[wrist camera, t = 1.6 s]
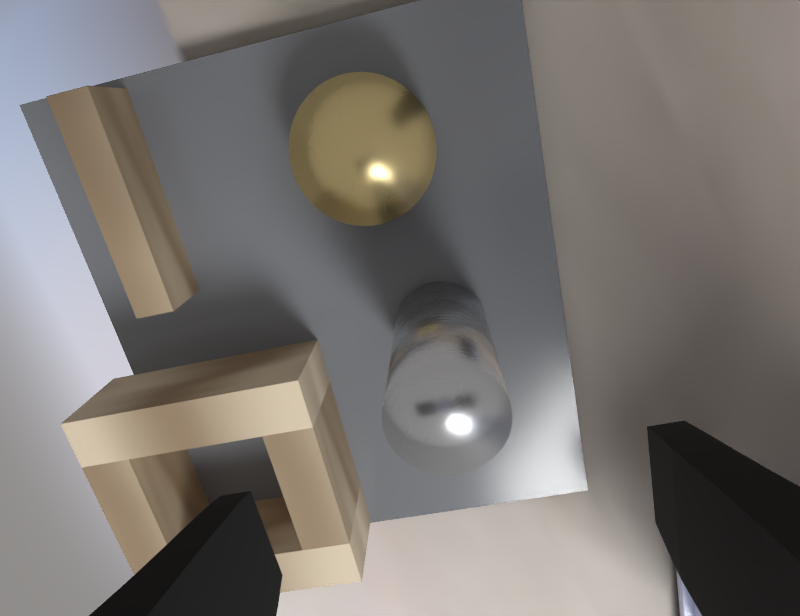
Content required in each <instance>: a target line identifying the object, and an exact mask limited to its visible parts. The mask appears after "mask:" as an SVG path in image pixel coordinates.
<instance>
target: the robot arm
mask: <svg viewBox="0 0 800 616" xmlns="http://www.w3.org/2000/svg"><path fill="white" fill-rule="evenodd" d="M647 431H648V442H649V454H650V465H651V476H652V487H653V499H654V510H655V521H656V524H657V527H658V529H659V531H660V534H661V536H662V538H663V541H664V543H665V545H666V547H667V550H668V552H669V554H670V556H671V559H672V561H673V563H674V565H675V567H676V570H677V583H678V596H679V609H680V616H800V487H799V486H797V485H796V484H794V483H792V482H790V481H788V480H787V479H785V478H783V477H781V476H779V475H778V474H776V473H774V472H772V471H770V470H769V469H767V468H765V467H763V466H762V465H760V464H758V463H756V462H755V461H753V460H751V459H749V458H748V457H746V456H744V455H743V454H741V453H739V452H737V451H736V450H734V449H732V448H731V447H729V446H727V445H725V444H724V443H722V442H720V441H719V440H717V439H715V438H714V437H712V436H710V435H709V434H707V433H705V432H703V431H702V430H700V429H698V428H696V427H695V426H693V425H691V424H689V423H687V422H686V421H679V422H673V423H667V424H661V425H655V426H649V427H647ZM282 576H283V575H282V572H281V570H280V567H279V564H278V562H277V559H276V556H275V554H274V551H273V549H272V546H271V543H270V541H269V538H268V535H267V533H266V530H265V527H264V525H263V522H262V519H261V517H260V514H259V511H258V509H257V506H256V503H255V501H254V498H253V496H252V493H251V491H247V492H241V493H235V494H228V495H222V496H220V497H218V498H217V499H216V500H215V501H213V502H212V503H211V504H210V505H209V506H207V507H206V508H205V509H204V510H203V511H202V512H201V513H200V514H199V515H197V516H196V517H195V518H194V519H193V520H192V521H191V522H190V523H189V524H188V525H187V526H186V527H185V528H184V529H183V530H181V531H180V532H179V533H178V534H177V535H176V536H175V537H174V538H173V539H172V540H171V541H170V542H169V543H168V544H167V545H166V546H165V547H164V548H163V549H161V550H160V551H159V552H158V553H157V554H156V555H155V556H154V557H153V558H152V559H151V560H150V561H149V562H148V563H147V564H146V565H145V566H143V567H142V568H141V569H140V570H139V571H138V572H137V573H136V574H135V575H134V576H133V577H132V578H131V579H130V580H129V581H128V582H127V583H126V584H124V585H123V586H122V587H121V588H120V589H119V590H118V591H117V592H115V593H114V594H113V595H112V596H111V597H110V598H109V599H107V600H106V601H105V602H104V603H103V604H102V605H101V606H100V607H98V608H97V609H96V610H95V611H94V612H93V613H92V614H90V615H89V616H276V613H277V608H278V602H279V595H280V589H281V582H282Z"/></svg>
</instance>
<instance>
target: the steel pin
mask: <svg viewBox="0 0 800 616" xmlns="http://www.w3.org/2000/svg"><path fill="white" fill-rule="evenodd" d="M382 427H383V431H384V434H385V437H386V439H387V441H388V443H389V445H390V446H391V448H392V449H393V451H394V452H395V453H396V454H397V455H398V456H399V457H400V458H401V459H403V460H404V461H405V462H407V463H408V464H410V465H411V466H413V467H415V468H417V469H420V470H423V471H426V472H429V473H434V474H442V475H452V474H460V473H465V472H468V471H471V470H474V469H476V468H479V467H481V466H483V465H484V464H486V463H487V462H489V461H490V460H491V459H493V458H494V457H495V456H496V455H497V454H498V453H499V452H500V451H501V449H502V448H503V446H504V445H505V443H506V441H507V439H508V437H509V434H510V432H511V427H512V408H511V404H510V400H509V397H508V393H507V390H506V386H505V383H504V379H503V375H502V372H501V368H500V365H499V361H498V358H497V354H496V351H495V347H494V344H493V340H492V336H491V333H490V329H489V326H488V322H487V319H486V315H485V312H484V309H483V306H482V304H481V303H480V301H479V300H478V298H477V297H476V296H475V295H474V294H473V293H472V292H471V291H469V290H468V289H466V288H465V287H463V286H461V285H458V284H456V283H451V282H445V281H438V282H431V283H427V284H424V285H422V286H420V287H418V288H416V289H415V290H413V291H412V292H411V293H410V294H409V295H408V296H406V298H405V299H404V300H403V302H402V303H401V305H400V307H399V310H398V313H397V316H396V323H395V329H394V336H393V342H392V349H391V355H390V362H389V368H388V375H387V381H386V388H385V394H384V401H383V407H382Z"/></svg>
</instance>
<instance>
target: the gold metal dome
mask: <svg viewBox="0 0 800 616" xmlns="http://www.w3.org/2000/svg"><path fill="white" fill-rule="evenodd" d="M436 156H437V146H436V138H435V133H434V129H433V125H432V123H431V120H430V118H429V115H428V114H427V112H426V110H425V108H424V107H423V105H422V104H421V103H420V101H419V100H418V99H417V98H416V97H415V96H414V95H413V93H412V92H411V91H409V90H408V89H407V88H406V87H404V86H403V85H402V84H400V83H398V82H397V81H395V80H393V79H391V78H388V77H386V76H384V75H380V74H376V73H370V72H351V73H346V74H342V75H338V76H335V77H333V78H331V79H329V80H327V81H325V82H323V83H322V84H321V85H319V86H318V87H316V88H315V89H314V90H313V91H312V92H311V93H310V94H309V95H308V96H307V97H306V98H305V100H304V101H303V102H302V104H301V105H300V107H299V109H298V110H297V113H296V115H295V117H294V119H293V123H292V126H291V129H290V135H289V159H290V164H291V169H292V172H293V174H294V177H295V180H296V182H297V184H298V186H299V188H300V189H301V191H302V192H303V194H304V195H305V196H306V198H307V199H308V200H309V201H310V202H311V203H312V204H313V205H314V206H315V207H316V208H317V209H318V210H320V211H321V212H322V213H324V214H325V215H327V216H329V217H331V218H332V219H334V220H337V221H340V222H342V223H346V224H350V225H356V226H373V225H380V224H383V223H387V222H389V221H392V220H394V219H396V218H398V217H400V216H402V215H403V214H405V213H406V212H407V211H409V210H410V209H411V208H412V207H413V206H414V205H415V204H416V203H417V202H418V201H419V200H420V198H421V197H422V196H423V194H424V193H425V191H426V189H427V188H428V186H429V184H430V181H431V179H432V176H433V173H434V169H435V164H436Z"/></svg>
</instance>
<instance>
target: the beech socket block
mask: <svg viewBox="0 0 800 616" xmlns="http://www.w3.org/2000/svg"><path fill="white" fill-rule="evenodd" d="M61 426H62V428H63V430H64V432H65V434H66V436H67V438H68V440H69V442H70V444H71V446H72V448H73V450H74V453H75V454H76V457H77V459H78V461H79V463H80V465H81V467H82V469H83V471H84V473H85V475H86V477H87V479H88V481H89V483H90V485H91V487H92V489H93V491H94V493H95V496H96V498H97V500H98V502H99V504H100V506H101V508H102V510H103V512H104V514H105V516H106V518H107V520H108V522H109V524H110V526H111V528H112V530H113V532H114V534H115V536H116V539H117V540H118V543H119V544H120V547H121V549H122V551H123V553H124V554H125V557H126V559H127V561H128V563H129V565H130V567H131V569H132V571H133V573H134V575H135V574H136V573H137V572H138V571H139V570H140V569H141V568H142V567H143V566H145V565H146V564H147V563H148V562H149V561H150V560H151V559H152V558H153V557H154V556H155V555H156V554H157V553H158V552H159V551H160V550H161V549H163V548H164V547H165V546H166V545H167V544H168V543H169V542H170V541H171V540H172V539H173V538H174V537H175V536H176V535H177V534H178V533H179V532H180V531H181V530H183V529H184V528H185V527H186V526H187V525H188V524H189V523H190V522H191V521H192V520H193V519H194V518H195V517H196V516H197V515H199V514H200V513H201V512H202V511H203V510H204V509H205V508H206V507H207V506H209V505H210V504H209V502H208V499H207V497H206V494H205V492H204V490H203V487H202V485H201V482H200V480H199V477H198V475H197V472H196V470H195V468H194V465H193V463H192V460H191V458H190V455H189V453H188V450H187V449H192V448H198V447H204V446H210V445H215V444H221V443H227V442H233V441H239V440H244V439H250V438H256V437H263V440H264V443H265V446H266V449H267V451H268V454H269V457H270V460H271V463H272V465H273V468H274V471H275V474H276V477H277V480H278V482H279V485H280V488H281V491H282V494H283V497H277V498H270V499H264V500H258V501H255V503H256V506H257V509H258V511H259V514H260V517H261V519H262V522H263V525H264V527H265V530H266V533H267V535H268V538H269V541H270V543H271V546H272V549H273V551H274V554H275V556H276V559H277V562H278V564H279V567H280V570H281V572H282V575H283V576H282V582H281V589H280V592H287V591H294V590H301V589H309V588H316V587H323V586H331V585H338V584H345V583H353V582H360V581H362V575H363V568H364V561H365V554H366V547H367V540H368V533H369V526H370V519H371V518H370V515H369V511H368V508H367V505H366V501H365V498H364V495H363V491H362V488H361V484H360V481H359V478H358V474H357V471H356V468H355V464H354V461H353V457H352V454H351V451H350V447H349V444H348V441H347V437H346V434H345V430H344V427H343V424H342V420H341V417H340V413H339V410H338V407H337V403H336V400H335V397H334V393H333V390H332V386H331V383H330V380H329V376H328V373H327V370H326V366H325V363H324V359H323V356H322V353H321V349H320V346H319V343H318V340H313V341H308V342H303V343H298V344H292V345H287V346H282V347H277V348H272V349H267V350H261V351H256V352H251V353H246V354H241V355H235V356H230V357H225V358H220V359H215V360H209V361H204V362H199V363H194V364H189V365H183V366H178V367H173V368H168V369H163V370H157V371H152V372H147V373H142V374H137V375H131V376H127V377H121V378H116V379H113V380H112V381H111V382H109V383H108V384H107V385H106V386H105V387H104V388H102V389H101V390H100V391H99V392H98V393H97V394H95V395H94V396H93V397H92V398H91V399H89V401H87V402H86V403H85V404H84V405H83V406H81V407H80V408H79V409H78V410H77V411H75V412H74V413H73V414H72V415H71V416H70V417H68V418H67V419H66V420H65V421H64V422H62V423H61Z"/></svg>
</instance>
